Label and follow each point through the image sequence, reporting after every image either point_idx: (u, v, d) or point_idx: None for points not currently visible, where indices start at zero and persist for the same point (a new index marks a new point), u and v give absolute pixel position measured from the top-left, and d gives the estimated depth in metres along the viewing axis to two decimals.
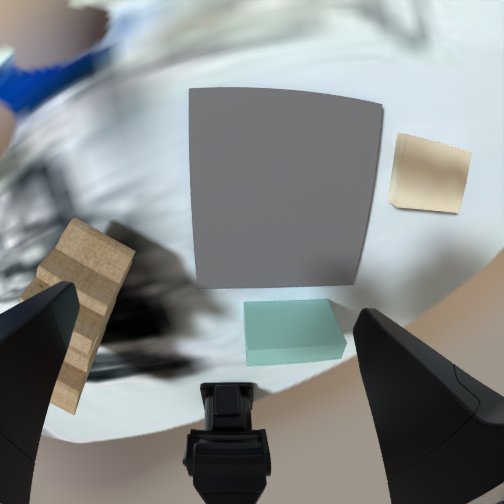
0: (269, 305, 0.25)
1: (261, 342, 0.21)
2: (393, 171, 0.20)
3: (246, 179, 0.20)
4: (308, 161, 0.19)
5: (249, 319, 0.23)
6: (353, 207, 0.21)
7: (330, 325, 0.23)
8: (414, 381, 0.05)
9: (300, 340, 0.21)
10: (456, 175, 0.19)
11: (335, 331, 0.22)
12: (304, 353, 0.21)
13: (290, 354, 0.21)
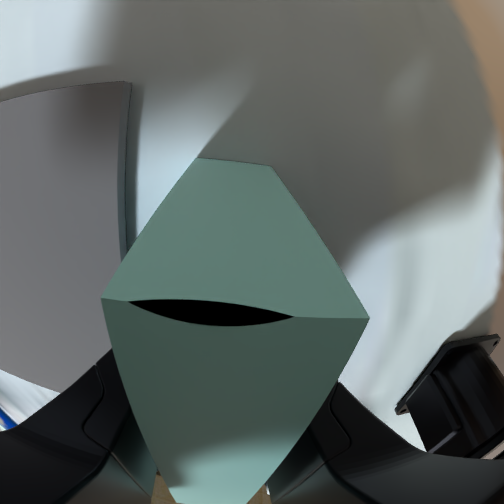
0: None
1: None
2: None
3: None
4: None
5: None
6: None
7: None
8: None
9: None
10: None
11: None
12: (205, 467, 0.03)
13: (202, 482, 0.04)
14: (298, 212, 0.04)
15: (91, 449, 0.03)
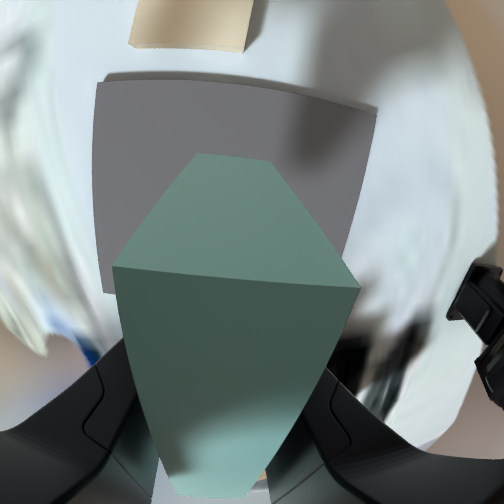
0: None
1: None
2: (193, 48, 0.12)
3: None
4: (173, 179, 0.15)
5: None
6: (245, 112, 0.13)
7: None
8: None
9: None
10: None
11: None
12: (206, 451, 0.04)
13: (202, 469, 0.04)
14: (295, 201, 0.04)
15: (91, 450, 0.03)
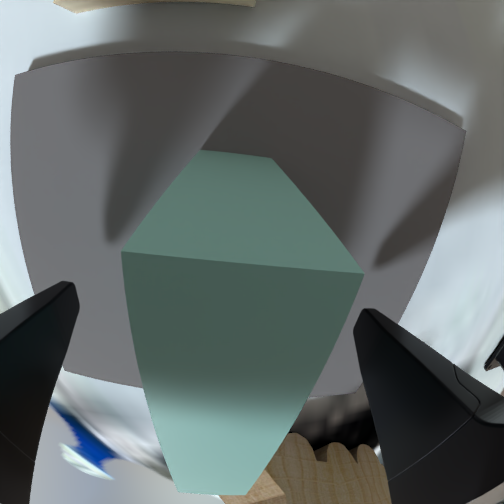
0: None
1: None
2: None
3: None
4: None
5: None
6: (262, 110, 0.07)
7: None
8: (414, 381, 0.05)
9: None
10: None
11: None
12: (208, 445, 0.04)
13: (204, 464, 0.04)
14: (298, 194, 0.04)
15: None
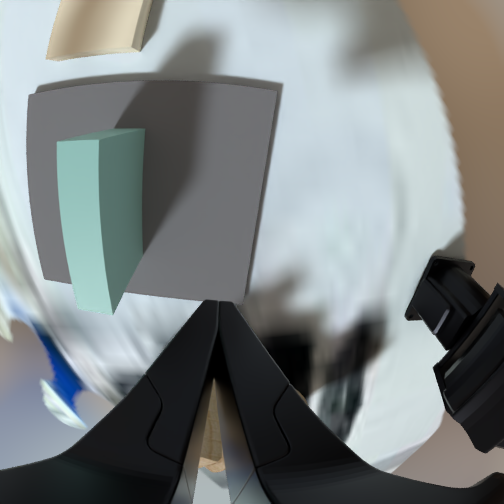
0: None
1: None
2: (98, 54, 0.11)
3: None
4: None
5: None
6: (139, 106, 0.13)
7: None
8: (227, 394, 0.05)
9: None
10: None
11: None
12: (76, 225, 0.10)
13: (79, 249, 0.10)
14: (119, 133, 0.10)
15: (162, 465, 0.03)
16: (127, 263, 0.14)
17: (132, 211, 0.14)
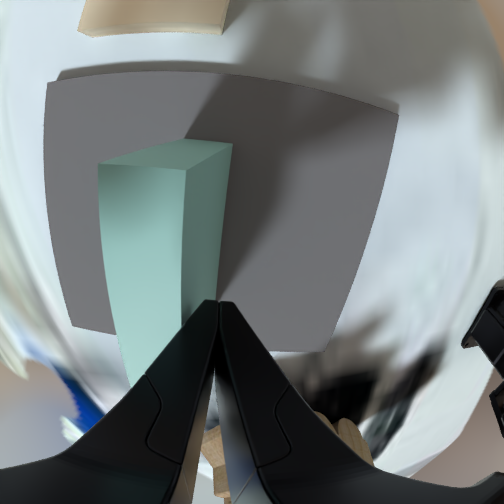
0: None
1: None
2: (158, 30, 0.08)
3: None
4: None
5: None
6: (225, 110, 0.10)
7: None
8: (228, 395, 0.05)
9: None
10: None
11: None
12: (137, 306, 0.07)
13: (139, 338, 0.07)
14: (209, 154, 0.07)
15: (160, 465, 0.03)
16: None
17: (212, 263, 0.11)
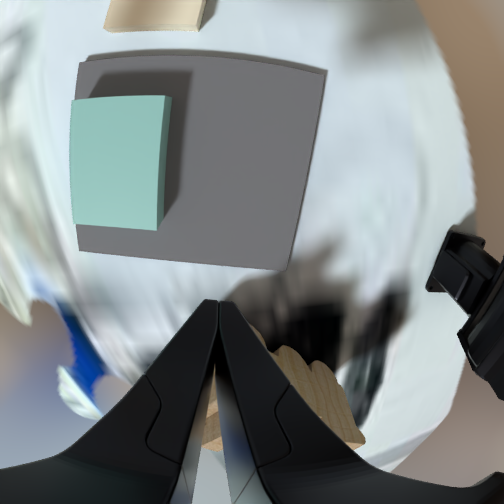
0: None
1: None
2: (157, 29, 0.12)
3: None
4: None
5: None
6: (200, 78, 0.14)
7: None
8: (228, 394, 0.05)
9: None
10: None
11: None
12: None
13: None
14: (104, 97, 0.12)
15: (160, 465, 0.03)
16: (110, 209, 0.15)
17: (128, 169, 0.14)
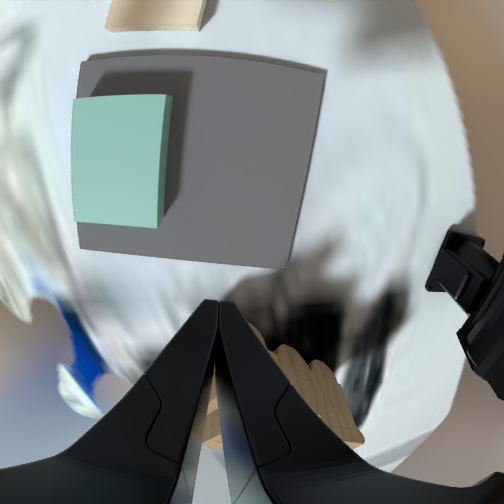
0: None
1: None
2: (158, 29, 0.13)
3: None
4: None
5: None
6: (201, 77, 0.14)
7: None
8: (228, 395, 0.05)
9: None
10: None
11: None
12: None
13: None
14: (105, 96, 0.12)
15: (161, 465, 0.03)
16: (111, 207, 0.16)
17: (129, 167, 0.15)
